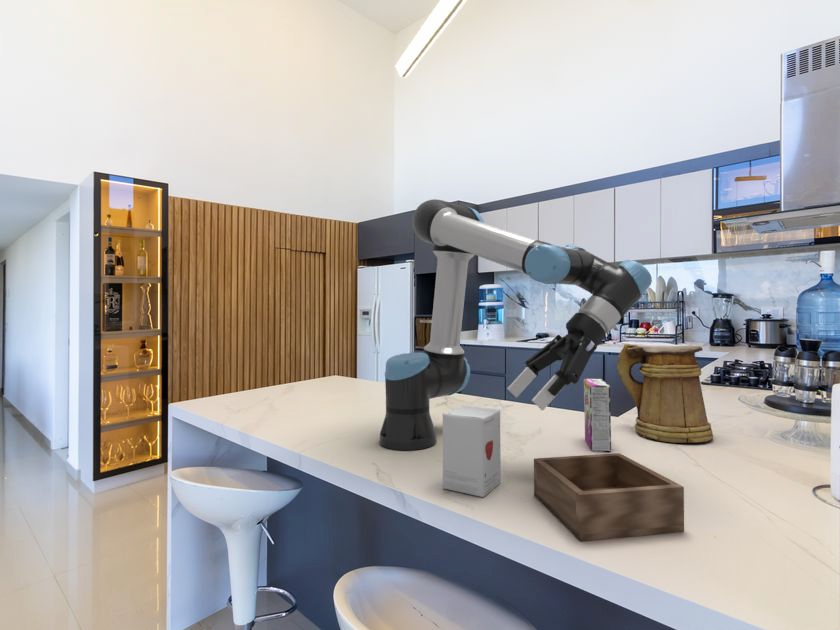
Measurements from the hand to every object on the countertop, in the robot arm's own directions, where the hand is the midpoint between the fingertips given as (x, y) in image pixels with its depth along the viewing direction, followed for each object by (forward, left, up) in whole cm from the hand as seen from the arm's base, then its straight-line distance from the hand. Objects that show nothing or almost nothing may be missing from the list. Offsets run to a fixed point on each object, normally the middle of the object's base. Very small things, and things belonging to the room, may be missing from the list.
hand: (523, 399), depth 93 cm
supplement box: (-9, -5, -17) cm, 20 cm away
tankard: (+31, +49, -17) cm, 60 cm away
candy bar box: (+14, +32, -17) cm, 39 cm away
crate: (+15, -9, -17) cm, 24 cm away
